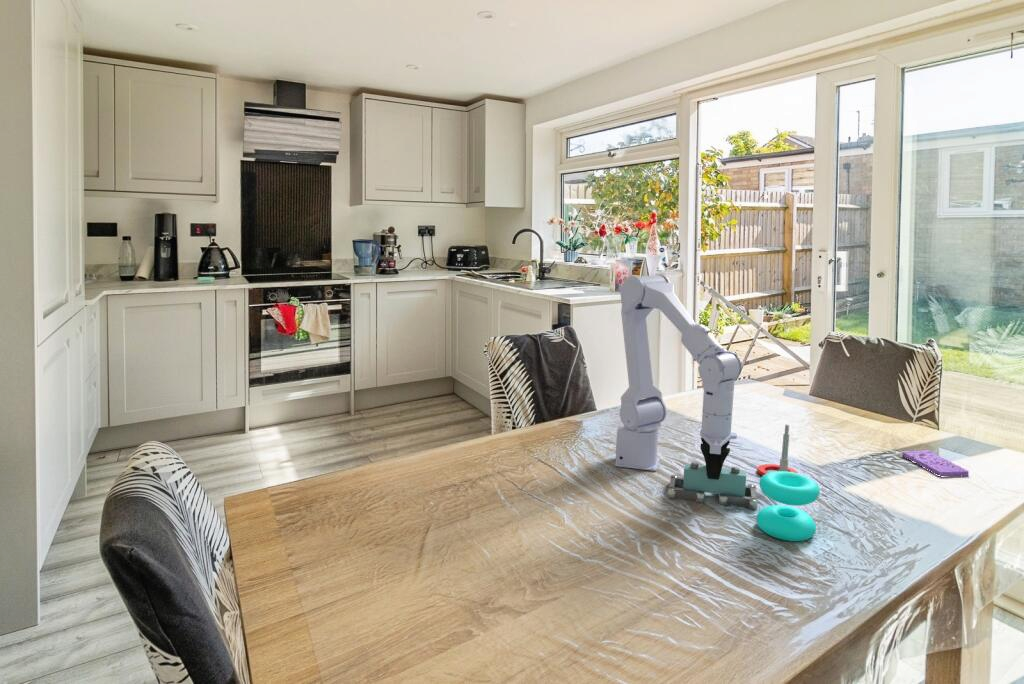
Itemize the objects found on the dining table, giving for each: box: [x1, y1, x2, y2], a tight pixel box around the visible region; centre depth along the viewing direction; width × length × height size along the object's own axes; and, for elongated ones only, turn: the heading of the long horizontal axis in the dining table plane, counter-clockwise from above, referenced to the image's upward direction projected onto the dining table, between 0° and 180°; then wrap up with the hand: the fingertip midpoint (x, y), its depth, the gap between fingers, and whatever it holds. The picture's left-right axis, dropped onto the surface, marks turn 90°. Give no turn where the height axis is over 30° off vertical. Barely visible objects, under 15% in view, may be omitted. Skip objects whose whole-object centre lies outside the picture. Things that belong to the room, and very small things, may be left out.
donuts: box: [756, 470, 820, 542], centre depth 112 cm, size 10×10×10 cm
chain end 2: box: [718, 483, 759, 511], centre depth 126 cm, size 7×9×2 cm
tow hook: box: [756, 424, 799, 477], centre depth 137 cm, size 8×13×9 cm
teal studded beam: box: [682, 462, 747, 496], centre depth 127 cm, size 12×3×5 cm, turn 72°
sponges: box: [901, 449, 970, 477], centre depth 143 cm, size 7×13×2 cm, turn 4°
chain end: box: [667, 474, 706, 504], centre depth 129 cm, size 7×9×2 cm
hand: (713, 475), depth 127 cm, fingers closed on teal studded beam, 3 cm apart
